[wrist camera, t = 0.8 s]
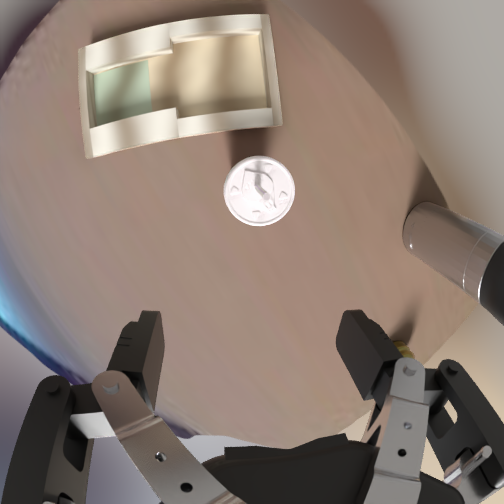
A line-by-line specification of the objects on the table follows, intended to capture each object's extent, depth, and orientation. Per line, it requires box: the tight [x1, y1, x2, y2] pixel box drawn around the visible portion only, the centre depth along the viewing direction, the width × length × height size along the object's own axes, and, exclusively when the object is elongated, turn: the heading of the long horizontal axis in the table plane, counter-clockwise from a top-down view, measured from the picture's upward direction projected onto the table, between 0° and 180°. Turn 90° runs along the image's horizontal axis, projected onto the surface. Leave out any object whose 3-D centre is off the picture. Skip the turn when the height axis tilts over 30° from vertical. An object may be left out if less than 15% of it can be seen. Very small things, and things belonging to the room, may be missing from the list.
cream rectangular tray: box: [78, 14, 283, 159], centre depth 26 cm, size 22×14×4 cm, turn 96°
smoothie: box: [224, 156, 295, 226], centre depth 27 cm, size 6×6×14 cm
